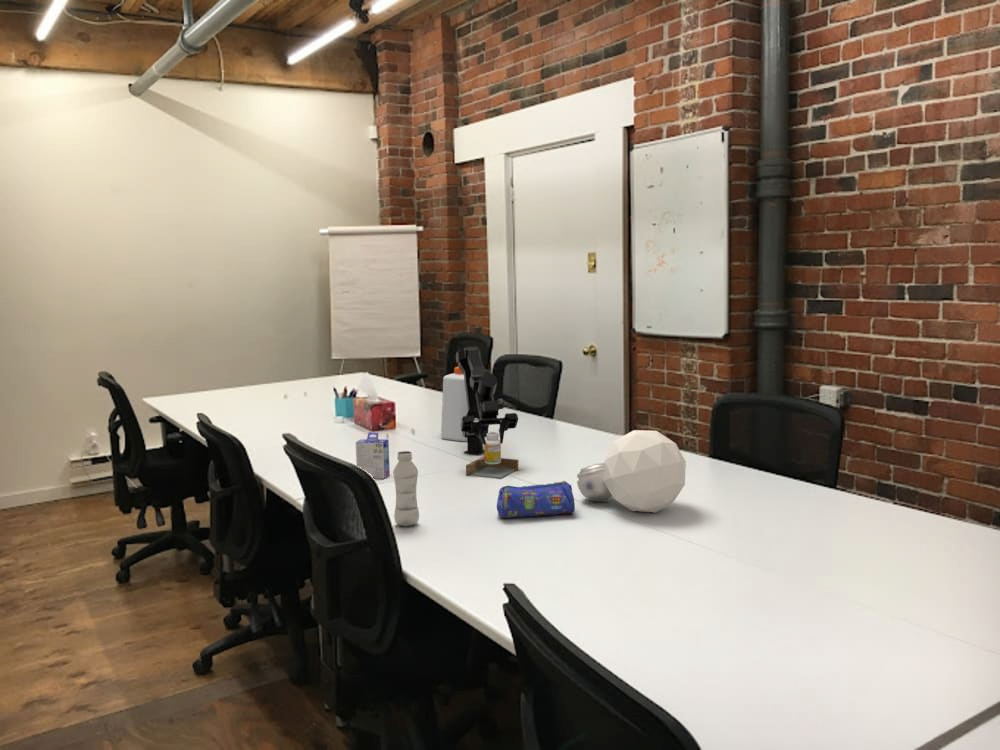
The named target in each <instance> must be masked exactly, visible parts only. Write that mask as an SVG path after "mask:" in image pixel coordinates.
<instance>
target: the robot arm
mask: <svg viewBox="0 0 1000 750" xmlns="http://www.w3.org/2000/svg"><path fill="white" fill-rule="evenodd" d="M455 361H456V363H457V365H458V366H457V367H459V369H460V370H461V371H462V373H463V374H464V381H465V390H466V398H467V407H468V412H467V415H466V416H463V417H462V420H461V431H462V433H463V436H464V437H465V438H466V437H467V442H466V447H467V450H465V451H463V454H467V455H482V454H485V449H484V445H485V444H486V443H485V440H486V438H485V437H486V434H487V433H489V427H490V426H492V425H494V426H495V425H499V428H498V434H499V440H500V441H501V445H502V444H503V442H504V437H505V433H506V431H508V430H511V429H515V428H517V426H518V421H519V415H518V414H517V413H516V412H509V413H507V412H506V413H504V417H498V416H499V413H500V412H499V411H500V410H504V407H505V405H504V404H505V402H504V399H503V398H497V399H496V400H495V399H494V395H495V392H496V389H497V384H498V378H497V377H496V376H495V375H494V374H493V373H491V371H489V369H487V368H485V367H484V365H483V364H484V363H483V361H482V359H481V350H480V349H479V347H478V346H466V347H464V348H462V349H459V350H457V352H456V353H455ZM467 432H468V433H467Z"/></svg>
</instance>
